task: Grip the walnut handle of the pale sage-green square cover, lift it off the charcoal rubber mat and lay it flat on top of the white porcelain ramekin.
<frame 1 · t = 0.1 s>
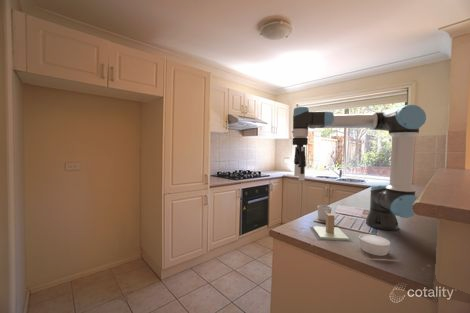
hand: (299, 178, 110), 28 cm above the counter, tool pointing down, fingers open, 13 cm apart
cup: (324, 220, 127), on the counter
ramekin: (373, 251, 90), on the counter
cover: (329, 233, 106), resting on mat
mat: (329, 234, 106), on the counter
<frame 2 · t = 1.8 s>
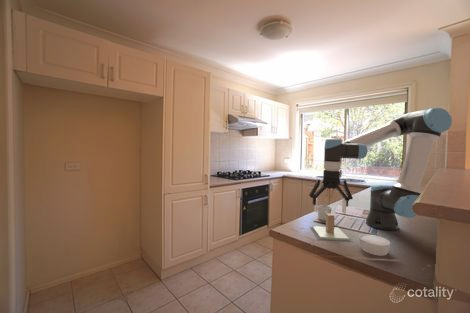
hand: (329, 212, 105), 12 cm above the counter, tool pointing down, fingers open, 13 cm apart
nothing on the counter moved.
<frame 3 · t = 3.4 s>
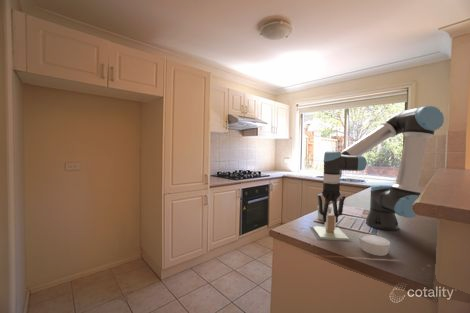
hand: (329, 228, 106), 3 cm above the counter, tool pointing down, fingers closed on cover, 3 cm apart
cover: (329, 233, 106), resting on mat, touching gripper
everything else where it was.
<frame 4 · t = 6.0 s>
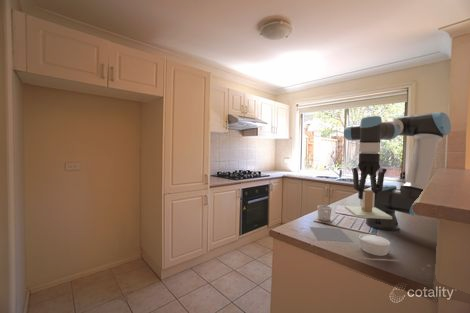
hand: (366, 206, 91), 19 cm above the counter, tool pointing down, fingers closed on cover, 3 cm apart
cover: (366, 213, 91), point 16 cm above the counter, touching gripper
everything else where it was.
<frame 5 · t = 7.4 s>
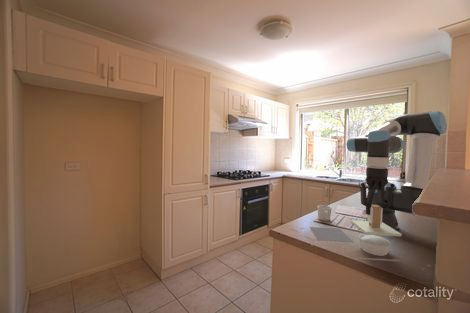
hand: (374, 222, 89), 13 cm above the counter, tool pointing down, fingers closed on cover, 3 cm apart
cover: (374, 228, 89), point 10 cm above the counter, touching gripper
everything else where it was.
when the fingers open (9 cm above the counter, at t = 8.6 s): cover drops 1 cm, resting on ramekin.
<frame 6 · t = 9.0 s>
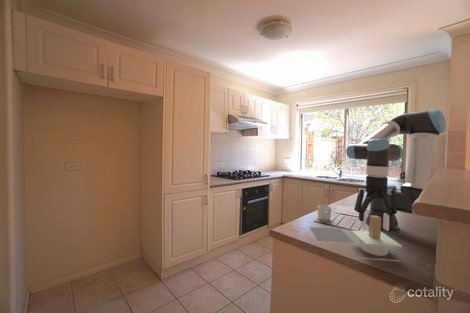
hand: (374, 228, 89), 10 cm above the counter, tool pointing down, fingers open, 8 cm apart
ramekin: (373, 251, 90), on the counter, touching cover
cover: (374, 239, 90), point 5 cm above the counter, touching ramekin
everything else where it was.
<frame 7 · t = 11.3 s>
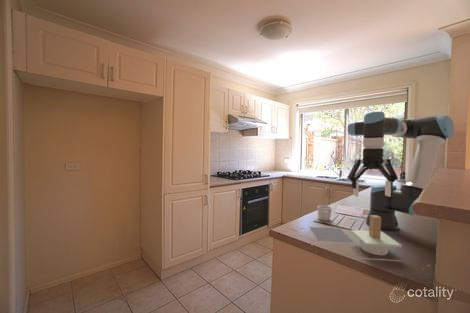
hand: (371, 195, 93), 23 cm above the counter, tool pointing down, fingers open, 13 cm apart
nothing on the counter moved.
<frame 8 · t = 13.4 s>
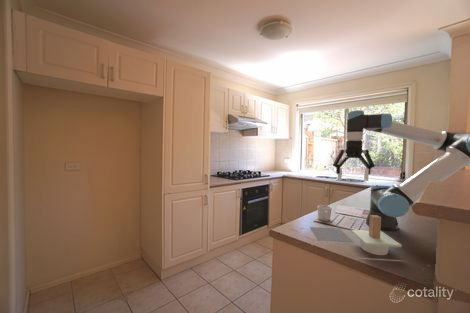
hand: (352, 180, 112), 27 cm above the counter, tool pointing down, fingers open, 13 cm apart
nothing on the counter moved.
at the end: cover 0.3 cm from the ramekin (horizontally); cover touching ramekin; cover tilted 0° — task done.
